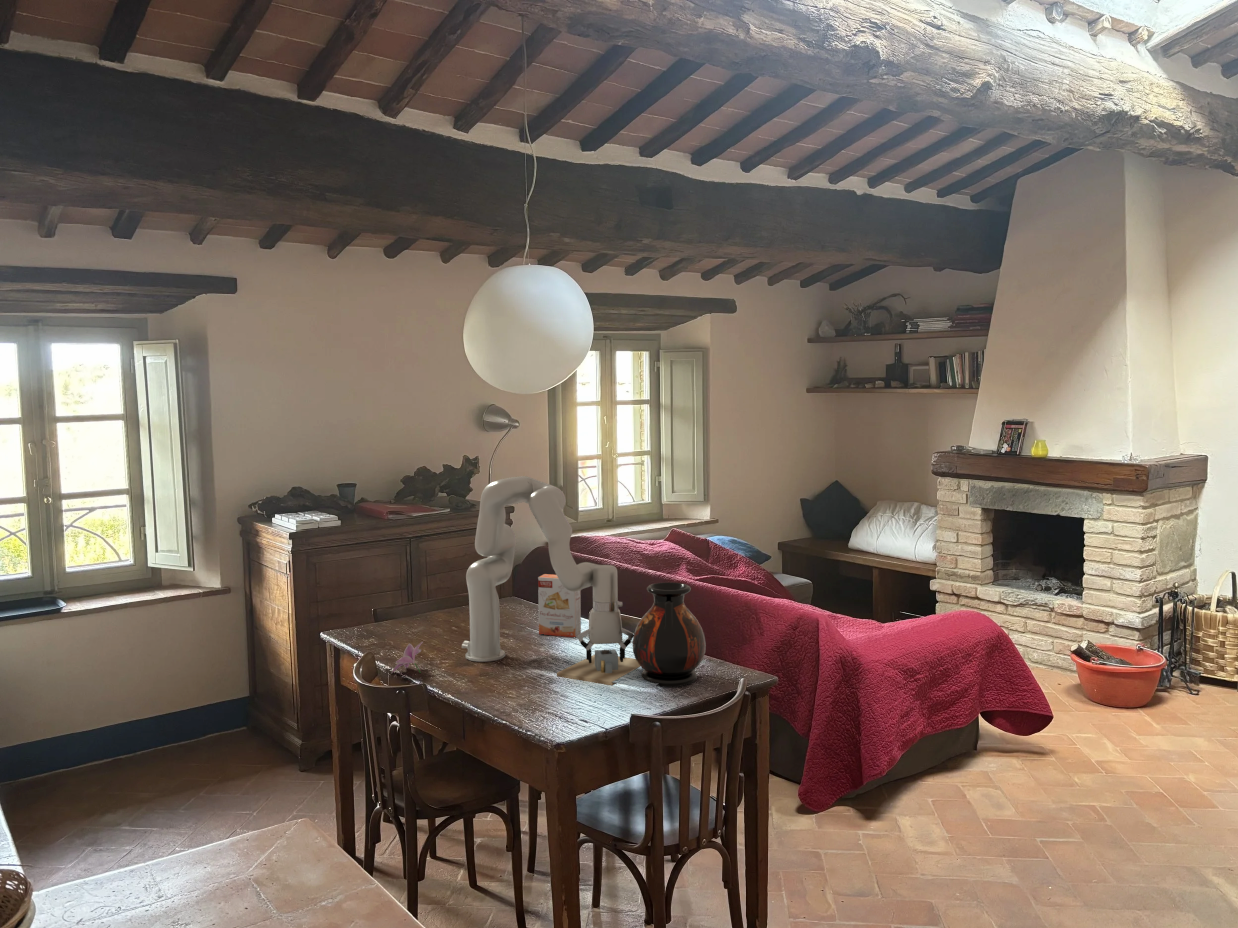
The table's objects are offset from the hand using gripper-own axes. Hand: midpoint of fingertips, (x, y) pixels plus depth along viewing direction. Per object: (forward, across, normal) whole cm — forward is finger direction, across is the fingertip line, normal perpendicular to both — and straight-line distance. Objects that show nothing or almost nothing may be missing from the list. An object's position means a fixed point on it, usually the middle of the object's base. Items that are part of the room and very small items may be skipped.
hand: (605, 661), depth 283 cm
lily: (+3, +60, -6) cm, 60 cm away
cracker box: (+3, +12, -45) cm, 47 cm away
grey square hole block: (+2, 0, +2) cm, 2 cm away
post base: (+3, 0, 0) cm, 3 cm away
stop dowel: (+2, +1, +5) cm, 6 cm away
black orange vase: (+3, -18, +11) cm, 21 cm away
